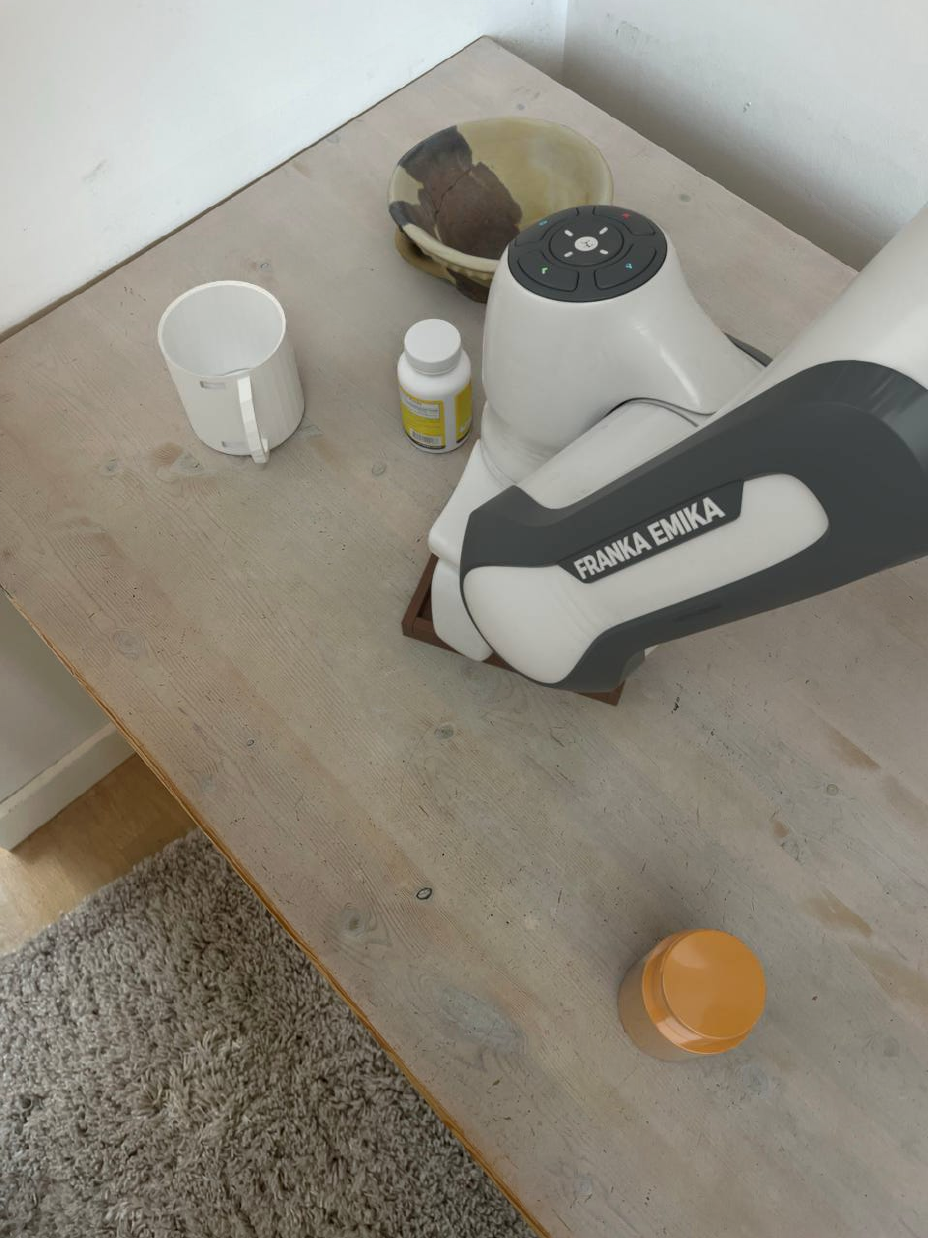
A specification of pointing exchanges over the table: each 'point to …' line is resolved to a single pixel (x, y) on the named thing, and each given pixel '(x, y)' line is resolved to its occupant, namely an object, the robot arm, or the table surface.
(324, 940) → the table surface
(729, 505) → the robot arm
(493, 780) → the table surface
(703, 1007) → the jam jar
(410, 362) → the supplement bottle
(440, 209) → the bowl
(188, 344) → the mug
